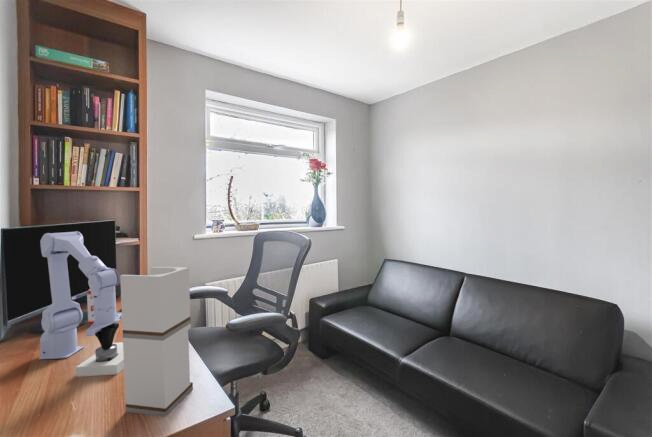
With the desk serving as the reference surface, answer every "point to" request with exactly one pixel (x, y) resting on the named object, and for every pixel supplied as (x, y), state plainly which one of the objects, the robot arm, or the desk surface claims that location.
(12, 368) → the desk surface
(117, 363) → the plate
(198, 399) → the desk surface
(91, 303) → the beer can
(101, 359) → the cylinder
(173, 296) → the tall white square container
